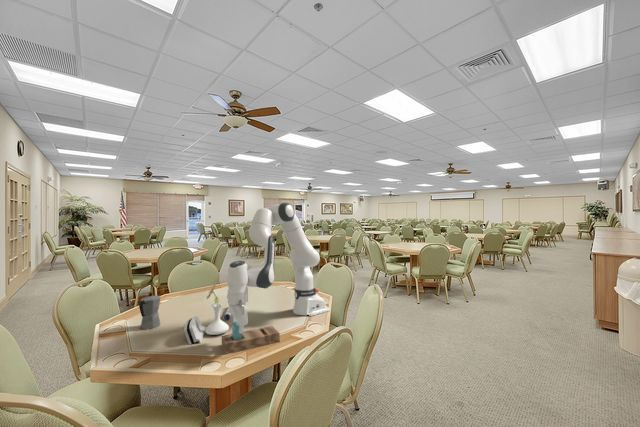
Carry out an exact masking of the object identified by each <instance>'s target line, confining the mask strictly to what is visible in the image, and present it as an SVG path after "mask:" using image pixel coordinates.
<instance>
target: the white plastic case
mask: <svg viewBox="0 0 640 427" xmlns="http://www.w3.org/2000/svg"><path fill="white" fill-rule="evenodd" d="M206 328H207V327H206V326H205V325H203V324H202V323H201V320H200V318H199V316H193V317H191V318H189V319H188V320H186V322H185V324H184V328H183V331H184V335H185V337H186V341H187V343H188V345H192V344H193V343H197V342H198V343H199V344H202V341H203V338H204V336H205V333H206V332H205V329H206Z"/></svg>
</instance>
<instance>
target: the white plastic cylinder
mask: <svg viewBox="0 0 640 427" xmlns="http://www.w3.org/2000/svg"><path fill="white" fill-rule="evenodd" d="M222 317H223V320H224V321H230V320H231V318H233V316H232V315H231V313H230V310H229V307H228V308H227V310H226V311H225V312H223V316H222Z"/></svg>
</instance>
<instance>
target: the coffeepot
mask: <svg viewBox="0 0 640 427" xmlns="http://www.w3.org/2000/svg"><path fill="white" fill-rule="evenodd" d="M148 295H149V296H144V297H142V298H141V299H140V302H139V305H138V307H139V312H140V316H141V317H142V319H141V324H140V329H141V330H143V329H149V330H154V329H157V328H158V326H159V327H160V325H161V320H160V313H159V308H160V303H161V296H160V295H153V292H149V293H148ZM156 327H157V328H156ZM153 328H154V329H153Z"/></svg>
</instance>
